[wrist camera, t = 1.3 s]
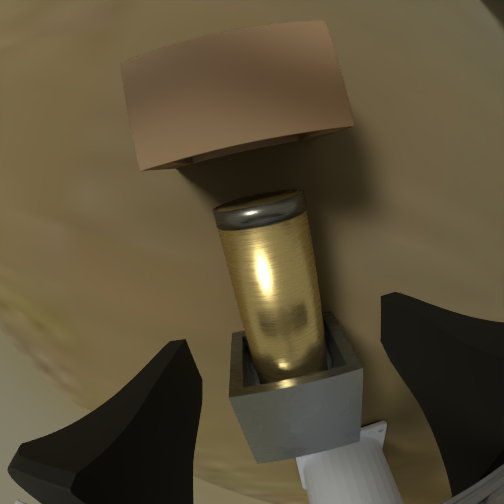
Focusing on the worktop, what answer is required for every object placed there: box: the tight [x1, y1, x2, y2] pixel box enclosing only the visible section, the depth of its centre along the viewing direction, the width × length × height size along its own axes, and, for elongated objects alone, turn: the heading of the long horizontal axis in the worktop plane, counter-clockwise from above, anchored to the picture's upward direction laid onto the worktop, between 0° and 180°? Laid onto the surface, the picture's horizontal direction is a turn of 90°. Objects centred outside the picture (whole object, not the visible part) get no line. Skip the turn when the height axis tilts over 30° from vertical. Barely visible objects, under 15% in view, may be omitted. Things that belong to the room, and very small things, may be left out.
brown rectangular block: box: [120, 21, 355, 171], centre depth 10 cm, size 4×7×5 cm, turn 102°
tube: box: [213, 190, 328, 385], centre depth 13 cm, size 13×4×4 cm, turn 12°
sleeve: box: [229, 312, 363, 464], centre depth 14 cm, size 6×6×5 cm
